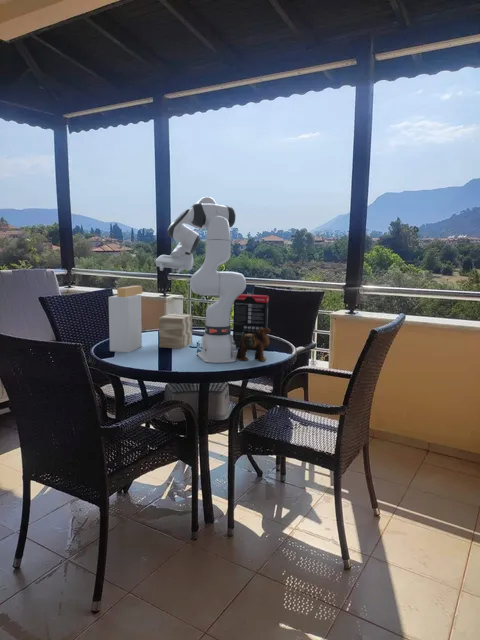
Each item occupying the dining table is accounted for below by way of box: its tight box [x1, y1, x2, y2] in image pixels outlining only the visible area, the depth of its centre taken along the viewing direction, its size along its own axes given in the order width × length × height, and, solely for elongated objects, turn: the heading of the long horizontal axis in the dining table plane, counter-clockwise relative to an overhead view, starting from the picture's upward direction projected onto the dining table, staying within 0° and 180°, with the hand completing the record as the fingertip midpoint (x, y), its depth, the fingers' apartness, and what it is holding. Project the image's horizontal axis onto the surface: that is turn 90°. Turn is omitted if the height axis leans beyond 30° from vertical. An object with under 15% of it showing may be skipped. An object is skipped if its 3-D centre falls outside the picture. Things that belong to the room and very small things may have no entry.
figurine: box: [236, 327, 271, 362], centre depth 197 cm, size 9×15×15 cm, turn 84°
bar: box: [116, 285, 143, 297], centre depth 216 cm, size 19×4×4 cm, turn 168°
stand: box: [108, 294, 143, 353], centre depth 213 cm, size 14×10×26 cm
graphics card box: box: [232, 293, 270, 351], centre depth 221 cm, size 17×7×27 cm, turn 76°
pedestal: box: [158, 313, 193, 350], centre depth 226 cm, size 16×12×15 cm
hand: (169, 270), depth 231 cm, fingers open, 8 cm apart
